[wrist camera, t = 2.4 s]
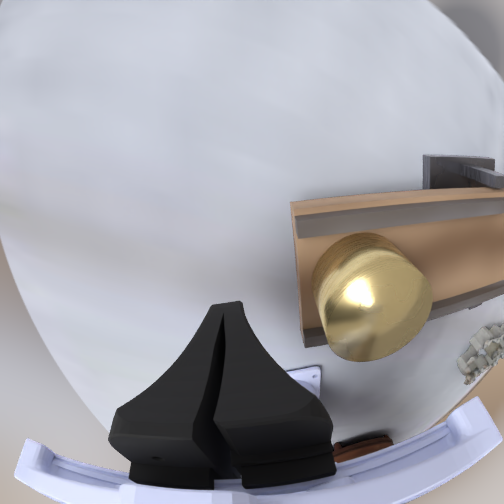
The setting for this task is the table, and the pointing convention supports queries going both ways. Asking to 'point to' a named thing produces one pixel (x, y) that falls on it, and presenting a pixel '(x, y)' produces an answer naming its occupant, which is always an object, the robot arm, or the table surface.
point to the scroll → (360, 449)
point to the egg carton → (472, 365)
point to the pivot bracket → (460, 173)
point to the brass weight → (369, 297)
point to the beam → (409, 243)
